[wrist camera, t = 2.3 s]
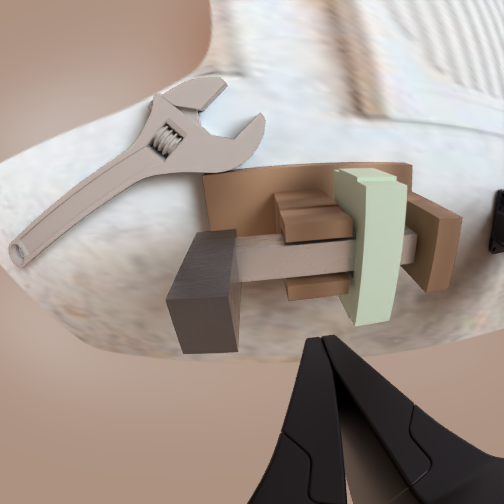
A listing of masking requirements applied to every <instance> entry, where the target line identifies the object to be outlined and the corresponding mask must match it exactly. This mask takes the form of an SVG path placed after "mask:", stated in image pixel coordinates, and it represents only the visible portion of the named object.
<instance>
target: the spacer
mask: <svg viewBox="0 0 504 504" xmlns="http://www.w3.org/2000/svg"><path fill="white" fill-rule="evenodd" d="M334 201H335V202H336V203H338V206H339V207H340V208H341V209H342V210H343V211H344V212H345V213H347V214H348V215H349V216H350V217H351V218H352V219H353V227H354V228H355V229H356V249H355V264H354V271H346V272H345V273H346V274H347V276H348V278H349V279H350V283H349V294H343V295H338V296H339V298H340V300H341V302H342V304H343V306H344V308H345V310H346V312H347V314H348V317H349V318H351V319H352V321H353V323H354V326H355V327H356V326H362V325H368V324H373V323H379V322H384V321H389V320H390V316H391V311H392V307H393V302H394V297H395V291H396V286H397V280H398V274H399V268H400V261H401V254H402V246H403V237H404V228H405V217H406V203H407V185H405V184H403V183H400V182H398V181H397V177H396V176H394V175H391V174H388V173H386V172H383V171H380V170H378V169H375V168H346V169H339V170H334Z"/></svg>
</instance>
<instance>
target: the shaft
mask: <svg viewBox="0 0 504 504" xmlns="http://www.w3.org/2000/svg"><path fill="white" fill-rule="evenodd" d="M417 236H418V234H417V233H415V232H414V231H412V230H411V229H410V228H408V227H407V226H406V225H405V228H404V237H403V246H402V254H401V261H400V265H402V264H410V263H414V257H415V250H416V243H417ZM355 249H356V229H355V228H354V227H353V234H352V237H343V238H331V239H320V240H309V241H298V242H287V243H286V241H285V238H284V235H283V233H281V234H270V235H259V236H248V237H238V238H237V230H236V229H227V230H218V231H208V232H199V233H197V234H196V236H195V238H194V240H193V242H192V244H191V246H190V248H189V250H188V252H187V254H186V256H185V259H184V261H183V263H182V265H181V267H180V269H179V271H178V274H177V276H176V278H175V280H174V282H173V285H172V287H171V289H170V291H169V293H168V296H167V298H166V302H167V306H168V309H169V312H170V315H171V319H172V322H173V325H174V328H175V331H176V334H177V337H178V340H179V343H180V346H181V349H182V351H183V354H202V353H228V352H238V341H239V319H240V297H241V282H247V281H258V280H269V279H280V278H290V277H300V276H310V275H319V274H328V273H337V272H346V271H354V264H355Z"/></svg>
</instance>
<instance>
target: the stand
mask: <svg viewBox="0 0 504 504" xmlns="http://www.w3.org/2000/svg"><path fill="white" fill-rule="evenodd" d="M346 168H375V169H378V170H380V171H383V172H386V173H388V174H391V175H394V176H396V177H397V181H398V182H400V183H403V184H405V185H407V203H406V217H405V225H406V226H407V227H408V228H410V229H411V230H412V231H414V232H415V233H417V234H418V236H417V243H416V250H415V257H414V263H410V264H402V265H400V266H401V267H402V268H403V269H404V270H405V271H406V272H407V273H408V274H409V275H410V276H411V277H412V278H413V279H414V280H415V282H416V283H417V284H418V285H419V286H420V287H421V288H422V289H423V290H424V292H425V293H430V292H435V291H440V290H445V289H448V287H449V283H450V279H451V275H452V271H453V267H454V262H455V258H456V253H457V248H458V242H459V236H460V230H461V224H462V217H460V216H459V215H457V214H455V213H453V212H451V211H449V210H448V209H446V208H444V207H442V206H440V205H438V204H436V203H434V202H432V201H430V200H428V199H426V198H424V197H422V196H420V195H418V194H416V193H414V192H412V165H410V164H407V163H396V162H341V163H313V164H294V165H279V166H267V167H255V168H245V169H236V170H228V171H224V172H218V173H205V174H204V175H203V176H202V177H203V185H204V192H205V199H206V205H207V212H208V218H209V225H210V231H218V230H227V229H236V230H237V238H238V237H248V236H259V235H270V234H281V233H283V235H284V238H285V241H286V243H287V242H298V241H309V240H320V239H331V238H343V237H352V234H353V219H352V218H351V217H350V216H349V215H348V214H347V213H345V212H344V211H343V210H342V209H341V208H340V207H339V206H338V203H336V202H335V201H334V170H339V169H346ZM283 279H284V282H285V287H286V291H287V296H288V301H292V300H301V299H310V298H319V297H327V296H335V295H343V294H349V283H350V279H349V278H348V276H347V274H346V273H345V272H337V273H328V274H319V275H310V276H300V277H290V278H283Z"/></svg>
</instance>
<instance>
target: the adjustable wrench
mask: <svg viewBox="0 0 504 504" xmlns="http://www.w3.org/2000/svg"><path fill="white" fill-rule="evenodd" d="M227 86H228V85H227V84H226V82H225V81H224V80H223V79H221V78H220V77H204V78H197V79H192V80H189V81H186V82H184V83H182V84H180V85H178V86H176V87H174V88H172V89H170V90H169V91H167V92H166V93H164V94H160V93H157V92H156V93H155V95H154V97H153V101H152V102H151V103H150V104H149V105H148V109H149V110H150V111H151V113H150V116H149V118H148V120H147V122H146V124H145V126H144V128H143V130H142V132H141V134H140V135H139V137H138V138H137V140H136V141H135V142H134V143H133V144H132V145H131V146H130V147H129V148H128V149H127V150H126V151H125V152H123V153H122V154H121V155H119V156H118V157H116V158H115V159H113V160H112V161H110V162H109V163H107V164H106V165H104V166H103V167H101V168H100V169H99V170H97V171H96V172H94V173H93V174H91V175H90V176H89V177H87V178H86V179H85V180H83V181H82V182H80V183H79V184H78V185H77V186H75V187H74V188H73V189H71V190H70V191H69V192H67V193H66V194H65V195H64V196H62V197H61V198H60V199H59V200H57V201H56V202H55V203H54V204H53V205H51V206H50V207H49V208H48V209H47V210H46V211H44V212H43V213H42V214H41V215H40V216H39V217H38V218H36V219H35V220H34V221H33V222H32V223H31V224H30V225H29V226H28V227H27V228H25V229H24V230H23V231H22V232H21V233H20V234H19V235H18V236H17V237H16V238H15V239H14V240H13V241H12V242H11V243H10V245H9V254H10V257H11V259H12V261H13V262H14V263H15V264H16V265H17V266H18V267H23V266H25V265H26V264H27V263H29V262H30V261H31V260H32V259H33V258H34V257H36V256H37V255H38V254H39V253H40V252H41V251H43V250H44V249H45V248H46V247H47V246H49V245H50V244H51V243H52V242H53V241H55V240H56V239H57V238H58V237H60V236H61V235H62V234H63V233H65V232H66V231H67V230H69V229H70V228H71V227H73V226H74V225H75V224H76V223H78V222H79V221H80V220H82V219H83V218H85V217H86V216H87V215H89V214H90V213H91V212H93V211H94V210H96V209H97V208H98V207H100V206H101V205H103V204H104V203H106V202H107V201H109V200H110V199H112V198H113V197H115V196H116V195H118V194H119V193H121V192H122V191H124V190H125V189H127V188H128V187H130V186H131V185H133V184H135V183H136V182H138V181H139V180H141V179H143V178H146V177H149V176H153V175H159V174H167V173H176V172H207V173H218V172H224V171H228V170H231V169H233V168H236V167H238V166H240V165H241V164H243V163H244V162H245V161H246V160H247V159H249V158H250V157H251V156H252V155H253V153H254V152H255V151H256V149H257V148H258V146H259V144H260V142H261V140H262V137H263V135H264V129H265V118H264V116H263V115H262V113H260V114H259V115H258V116H257V117H256V118H255V119H254V120H253V121H252V122H251V123H250V124H249V125H248V126H247V127H246V128H245V129H244V130H243V131H242V132H241V133H240V134H239V135H238V136H237V137H236V138H235V139H230V138H225V137H220V136H214V135H211V134H210V133H209V132H208V131H207V130H206V129H205V128H203V127H202V126H201V123H200V120H199V115H198V111H199V110H200V111H204V110H205V109H206V108H207V107H208V106H209V105H210V104H211V103H212V102H213V101H214V100H215V99H216V98H217V96H218V95H219V94H220V93H221V92H222V91H223V90H224V89H225V88H226V87H227ZM170 128H171V129H172V130H170ZM174 132H175V133H176V134H174ZM178 136H180V137H181V138H179V137H178ZM152 145H153V146H154V147H158V150H157V149H155V148H154V147H153V146H152ZM162 150H163V151H162ZM159 151H162V154H163V155H162V154H161V153H160V152H159ZM166 154H170V155H169V156H168V157H167V158H166V157H165V156H164V155H166ZM18 246H19V247H20V248H21V250H22V252H23V254H24V258H23V257H22V256H21V254H20V252H19V250H18Z"/></svg>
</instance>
